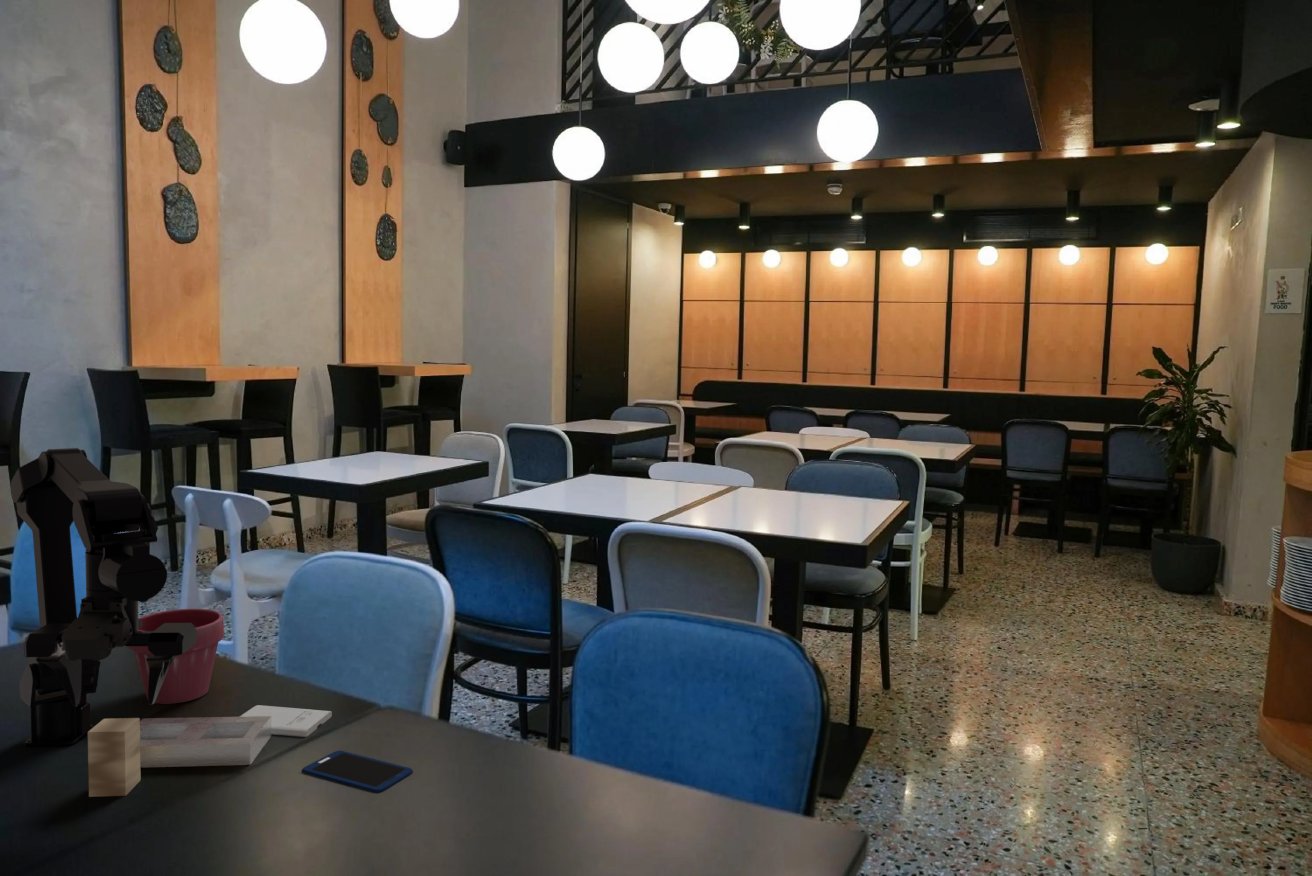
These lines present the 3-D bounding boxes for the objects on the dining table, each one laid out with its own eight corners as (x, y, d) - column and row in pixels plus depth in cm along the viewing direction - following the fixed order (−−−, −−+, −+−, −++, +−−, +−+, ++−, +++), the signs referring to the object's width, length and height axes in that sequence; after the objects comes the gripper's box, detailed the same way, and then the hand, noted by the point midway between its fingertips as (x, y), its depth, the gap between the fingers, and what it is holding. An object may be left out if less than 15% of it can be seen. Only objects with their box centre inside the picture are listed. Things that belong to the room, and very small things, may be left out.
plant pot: (109, 698, 149) (108, 621, 148) (189, 674, 162) (188, 603, 161) (163, 717, 143) (162, 636, 142) (242, 690, 155) (242, 616, 154)
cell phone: (337, 754, 132) (337, 748, 132) (415, 774, 126) (415, 768, 126) (299, 774, 125) (299, 768, 125) (379, 796, 120) (379, 790, 120)
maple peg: (89, 796, 117) (87, 731, 116) (105, 780, 121) (104, 718, 120) (125, 795, 117) (124, 731, 117) (140, 779, 122) (139, 717, 121)
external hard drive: (257, 713, 146) (332, 719, 145) (228, 734, 138) (306, 739, 137) (257, 703, 146) (332, 709, 145) (228, 723, 138) (306, 729, 137)
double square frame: (112, 767, 125) (111, 746, 124) (143, 738, 135) (143, 718, 134) (250, 764, 127) (250, 743, 127) (271, 735, 137) (271, 715, 137)
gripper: (-4, 602, 108) (-1, 730, 109) (164, 602, 110) (165, 727, 112) (46, 580, 119) (49, 696, 120) (197, 580, 121) (199, 694, 123)
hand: (114, 704), depth 118 cm, fingers open, 9 cm apart
